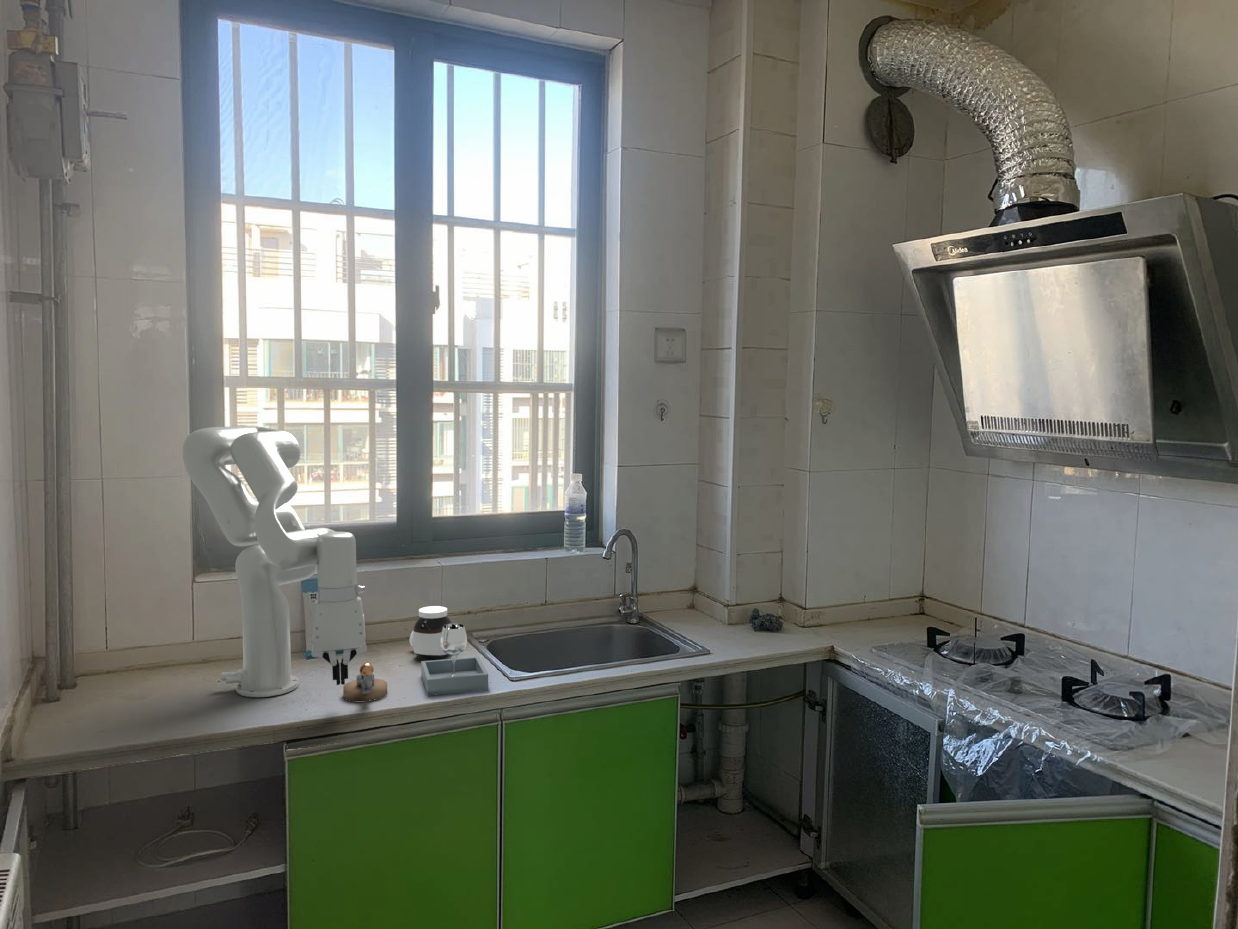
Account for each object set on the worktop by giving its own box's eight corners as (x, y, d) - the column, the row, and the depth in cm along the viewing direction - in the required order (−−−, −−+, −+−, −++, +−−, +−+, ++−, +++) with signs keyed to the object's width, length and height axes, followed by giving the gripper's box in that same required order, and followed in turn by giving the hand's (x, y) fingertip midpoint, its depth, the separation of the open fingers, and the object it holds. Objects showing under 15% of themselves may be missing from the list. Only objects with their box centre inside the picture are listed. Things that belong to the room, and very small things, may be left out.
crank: (356, 682, 187) (356, 651, 186) (373, 681, 188) (373, 650, 187) (358, 698, 177) (357, 666, 177) (376, 697, 178) (375, 664, 178)
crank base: (343, 704, 180) (343, 694, 180) (343, 689, 189) (343, 680, 189) (388, 699, 183) (388, 690, 183) (386, 685, 192) (385, 676, 191)
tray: (427, 695, 186) (427, 679, 185) (421, 676, 198) (421, 661, 198) (488, 689, 190) (488, 674, 189) (478, 671, 202) (478, 656, 202)
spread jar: (436, 664, 207) (436, 616, 206) (395, 658, 211) (394, 611, 210) (461, 650, 218) (461, 604, 217) (422, 645, 222) (421, 600, 221)
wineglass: (443, 674, 197) (443, 622, 196) (469, 675, 197) (469, 623, 196) (437, 683, 191) (437, 629, 190) (463, 683, 191) (463, 630, 190)
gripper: (375, 587, 181) (377, 673, 183) (298, 592, 177) (301, 681, 178) (377, 594, 174) (379, 684, 176) (297, 600, 170) (300, 693, 171)
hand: (340, 682), depth 177 cm, fingers closed
